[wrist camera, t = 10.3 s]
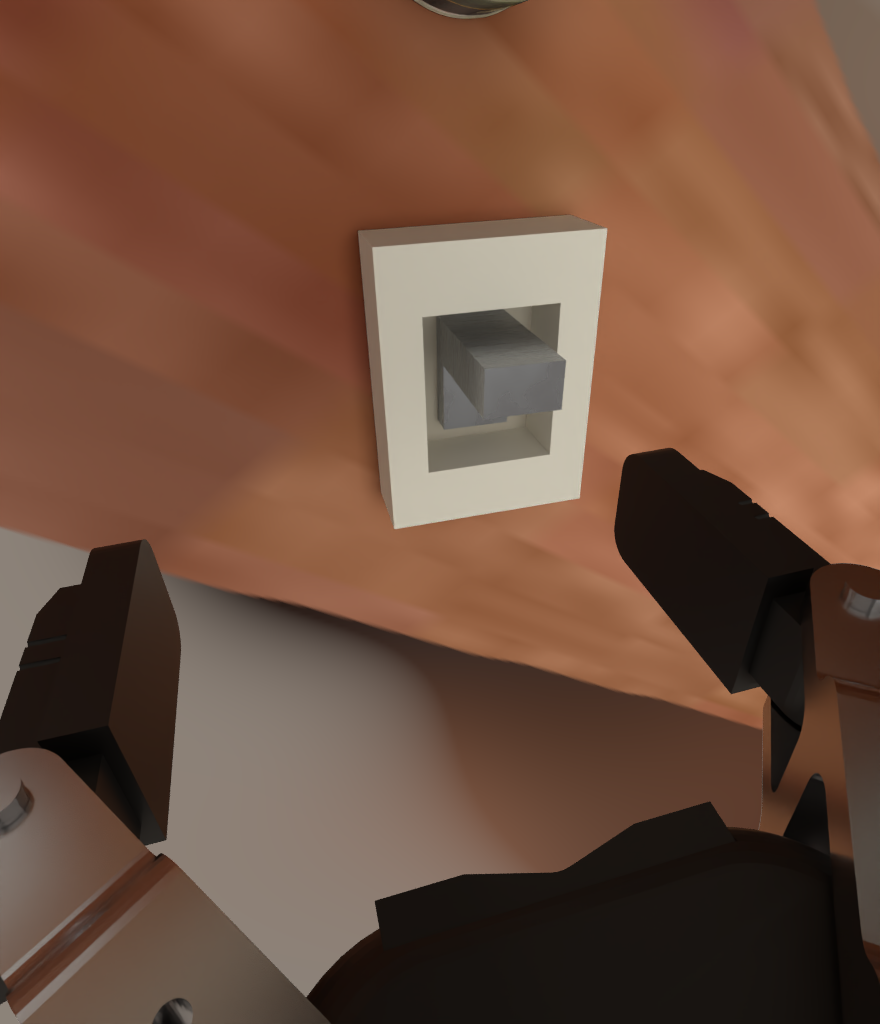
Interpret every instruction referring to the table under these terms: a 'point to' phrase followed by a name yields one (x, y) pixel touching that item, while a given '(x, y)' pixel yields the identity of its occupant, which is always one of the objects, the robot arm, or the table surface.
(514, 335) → the grey rectangular block
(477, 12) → the coffee can
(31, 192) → the table surface
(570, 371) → the well block
